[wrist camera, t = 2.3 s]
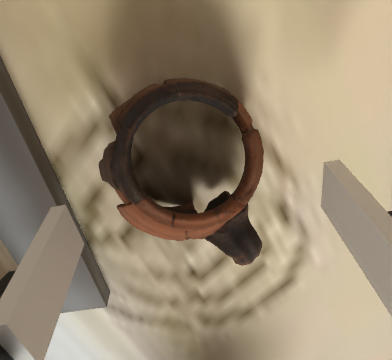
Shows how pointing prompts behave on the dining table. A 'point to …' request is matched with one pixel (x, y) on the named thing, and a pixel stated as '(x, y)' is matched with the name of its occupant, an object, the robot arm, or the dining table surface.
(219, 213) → the pottery mug
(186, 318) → the dining table surface
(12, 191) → the build base
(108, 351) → the dining table surface
